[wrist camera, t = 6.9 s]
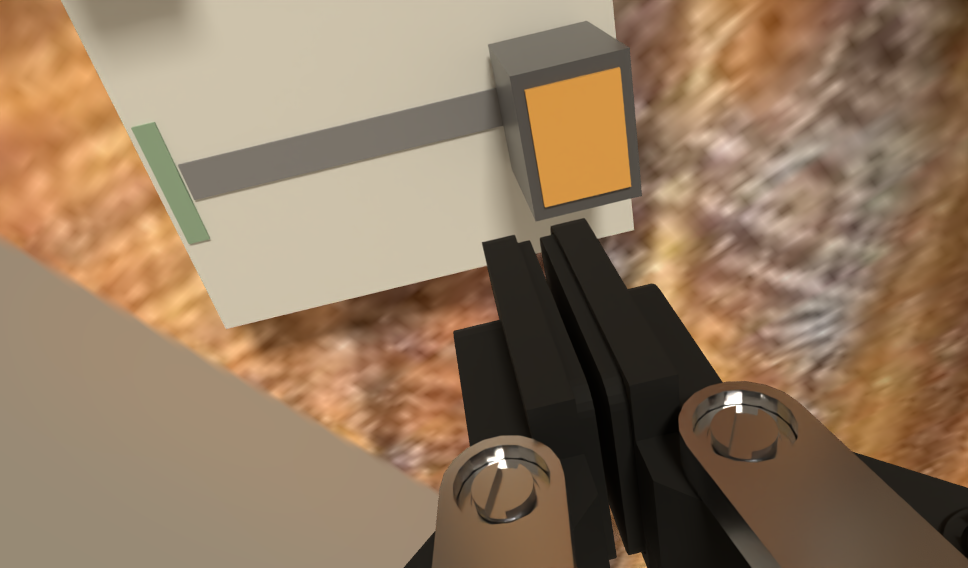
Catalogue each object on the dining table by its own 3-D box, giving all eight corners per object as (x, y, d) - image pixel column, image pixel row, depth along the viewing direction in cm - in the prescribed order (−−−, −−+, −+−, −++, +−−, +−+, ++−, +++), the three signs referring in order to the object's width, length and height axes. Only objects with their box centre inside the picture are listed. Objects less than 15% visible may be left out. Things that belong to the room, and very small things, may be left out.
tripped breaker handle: (586, 20, 20) (630, 48, 16) (601, 147, 22) (642, 197, 18) (487, 44, 20) (510, 77, 16) (511, 169, 22) (536, 223, 18)
